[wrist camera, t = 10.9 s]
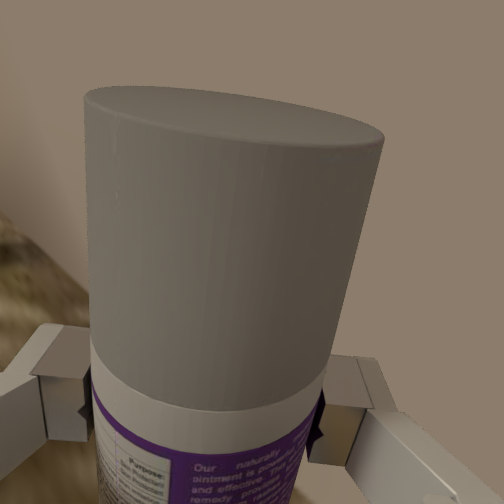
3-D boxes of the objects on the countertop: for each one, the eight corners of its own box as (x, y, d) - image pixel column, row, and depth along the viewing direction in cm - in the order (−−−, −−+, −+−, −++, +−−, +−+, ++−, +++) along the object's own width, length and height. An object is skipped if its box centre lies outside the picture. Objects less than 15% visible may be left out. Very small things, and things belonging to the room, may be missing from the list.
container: (258, 527, 15) (360, 112, 8) (251, 711, 11) (448, 171, 4) (135, 509, 15) (136, 78, 8) (79, 688, 11) (-11, 101, 4)
